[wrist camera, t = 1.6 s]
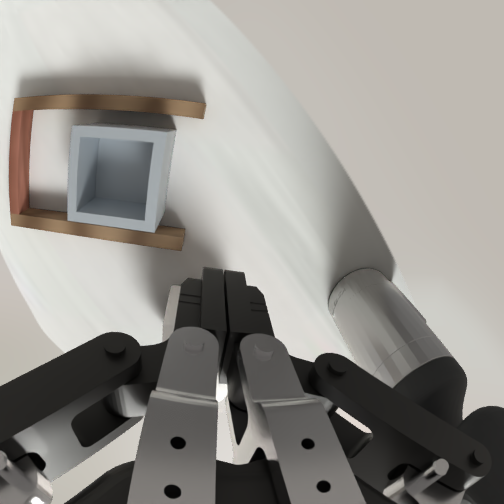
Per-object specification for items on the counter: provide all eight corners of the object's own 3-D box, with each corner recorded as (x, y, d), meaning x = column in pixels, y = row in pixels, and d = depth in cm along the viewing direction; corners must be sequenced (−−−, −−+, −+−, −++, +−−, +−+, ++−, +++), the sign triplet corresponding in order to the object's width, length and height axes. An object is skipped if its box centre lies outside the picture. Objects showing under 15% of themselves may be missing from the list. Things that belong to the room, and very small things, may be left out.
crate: (176, 129, 27) (167, 132, 22) (164, 212, 31) (154, 232, 26) (96, 122, 26) (72, 125, 20) (90, 202, 29) (67, 220, 24)
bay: (206, 104, 26) (205, 103, 24) (183, 241, 32) (181, 251, 30) (26, 98, 22) (14, 98, 20) (21, 218, 28) (11, 225, 26)
